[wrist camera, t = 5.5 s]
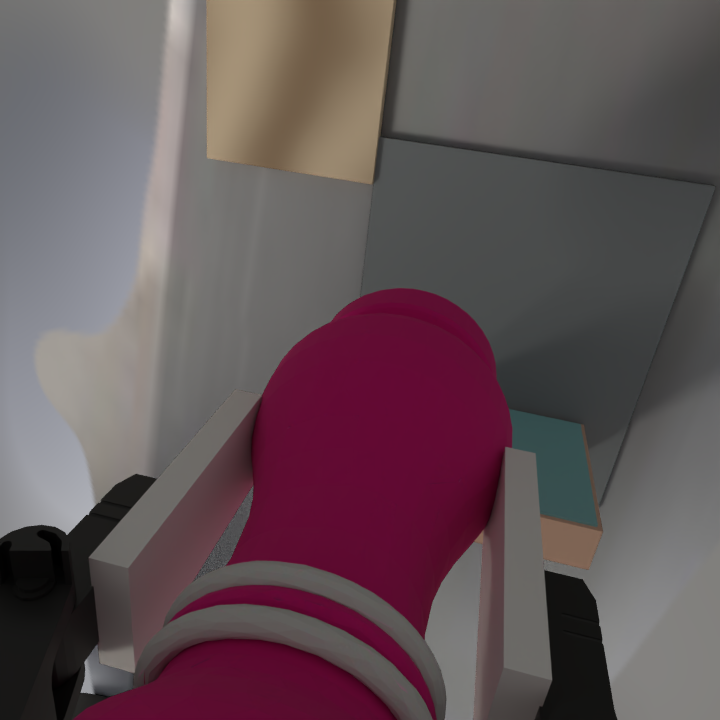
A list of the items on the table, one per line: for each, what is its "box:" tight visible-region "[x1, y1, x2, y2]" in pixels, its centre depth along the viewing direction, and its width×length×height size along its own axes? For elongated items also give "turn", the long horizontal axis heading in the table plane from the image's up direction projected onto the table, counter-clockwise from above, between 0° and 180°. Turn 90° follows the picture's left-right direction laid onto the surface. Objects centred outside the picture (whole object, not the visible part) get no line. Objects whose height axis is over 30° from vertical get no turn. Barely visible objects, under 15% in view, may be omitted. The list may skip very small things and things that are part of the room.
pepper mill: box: [73, 288, 512, 720], centre depth 13 cm, size 7×7×20 cm
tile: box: [474, 409, 603, 570], centre depth 28 cm, size 8×2×8 cm, turn 84°
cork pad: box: [207, 0, 397, 184], centre depth 27 cm, size 8×8×1 cm
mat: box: [360, 136, 716, 507], centre depth 30 cm, size 14×17×1 cm
